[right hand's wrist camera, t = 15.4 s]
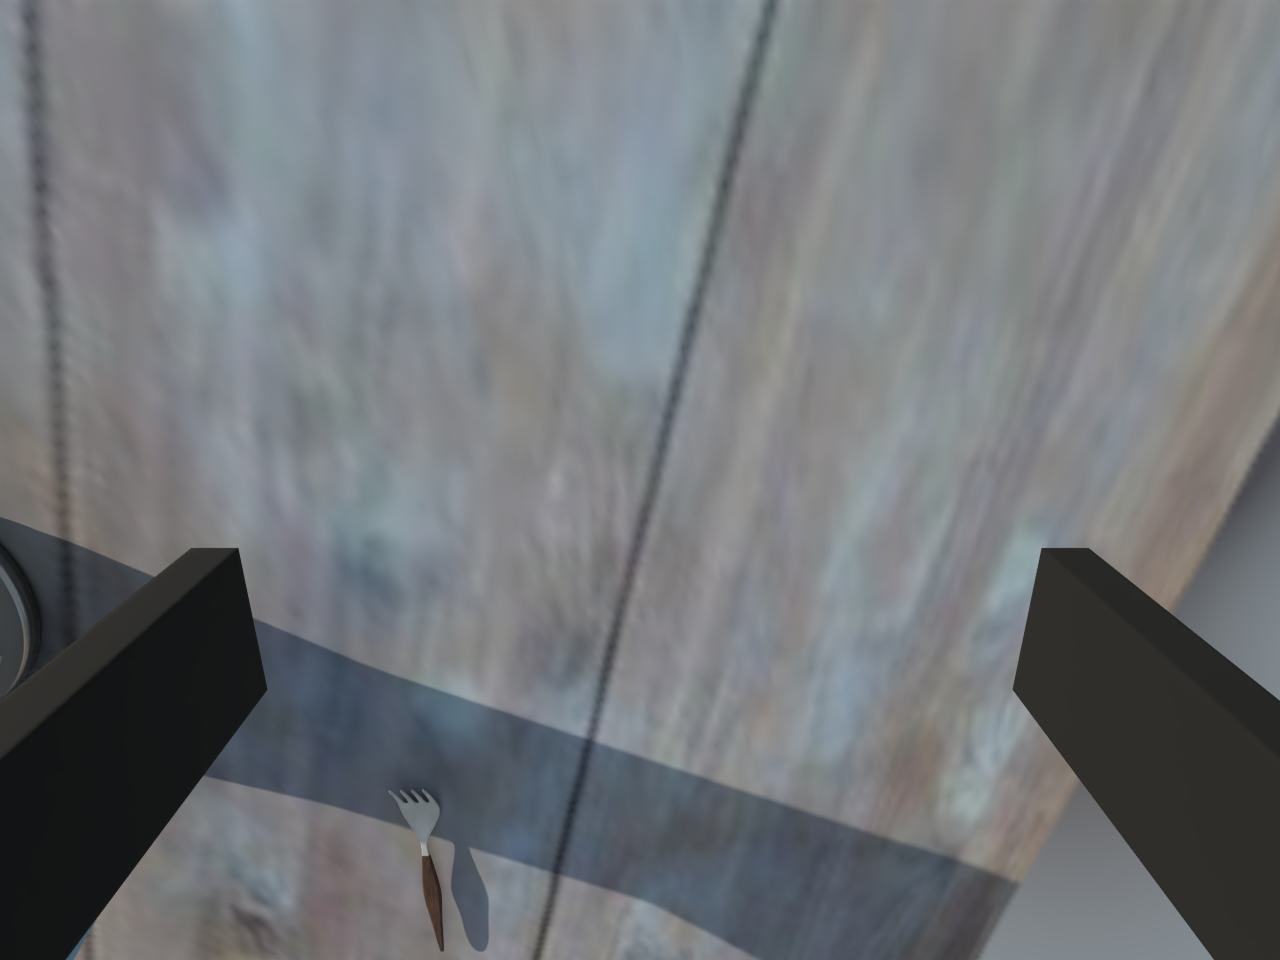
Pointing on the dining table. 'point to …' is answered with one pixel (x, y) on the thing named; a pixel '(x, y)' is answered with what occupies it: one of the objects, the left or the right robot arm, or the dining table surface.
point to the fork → (425, 852)
